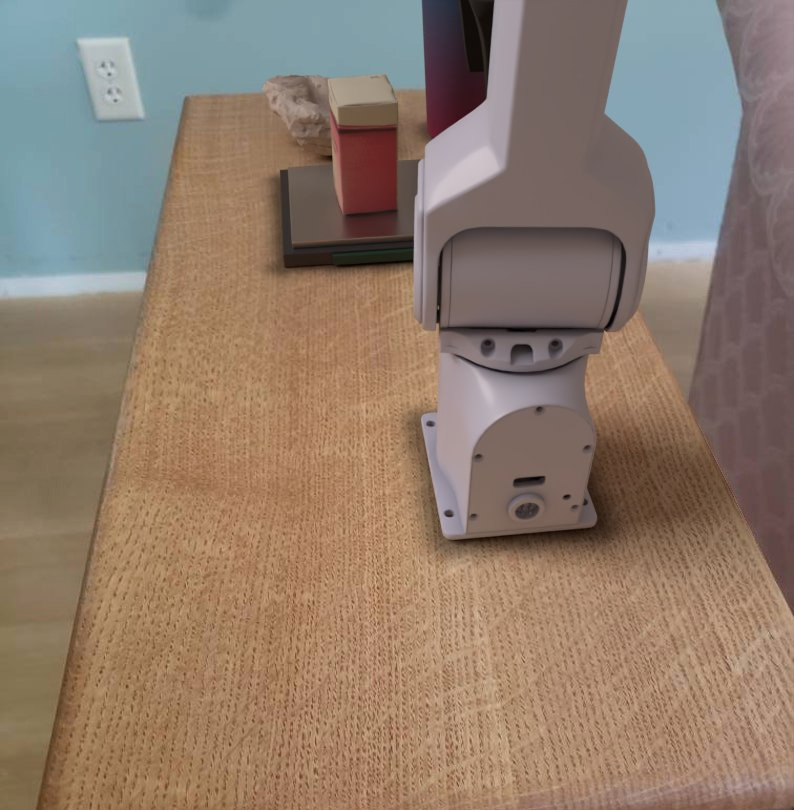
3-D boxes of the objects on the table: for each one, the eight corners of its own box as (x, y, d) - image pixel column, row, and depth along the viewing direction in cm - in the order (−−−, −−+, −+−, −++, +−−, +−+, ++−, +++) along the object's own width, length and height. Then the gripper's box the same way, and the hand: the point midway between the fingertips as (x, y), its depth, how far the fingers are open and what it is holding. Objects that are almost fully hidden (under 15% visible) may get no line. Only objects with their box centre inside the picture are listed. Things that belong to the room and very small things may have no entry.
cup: (465, 155, 72) (476, -54, 61) (401, 134, 75) (400, -69, 64) (509, 126, 76) (526, -76, 65) (446, 108, 79) (452, -89, 67)
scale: (465, 258, 61) (466, 239, 60) (284, 270, 60) (282, 251, 59) (439, 171, 70) (440, 153, 69) (280, 181, 69) (278, 163, 68)
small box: (333, 185, 66) (325, 76, 60) (388, 179, 66) (386, 71, 60) (342, 217, 62) (335, 105, 57) (400, 211, 63) (399, 100, 57)
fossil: (349, 72, 77) (386, 62, 68) (355, 151, 79) (392, 151, 71) (253, 77, 74) (279, 67, 66) (263, 159, 77) (289, 159, 68)
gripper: (420, -199, 50) (418, 54, 60) (461, -145, 40) (450, 145, 50) (539, -203, 50) (517, 48, 60) (608, -151, 41) (568, 138, 51)
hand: (494, 92), depth 55 cm, fingers open, 7 cm apart
